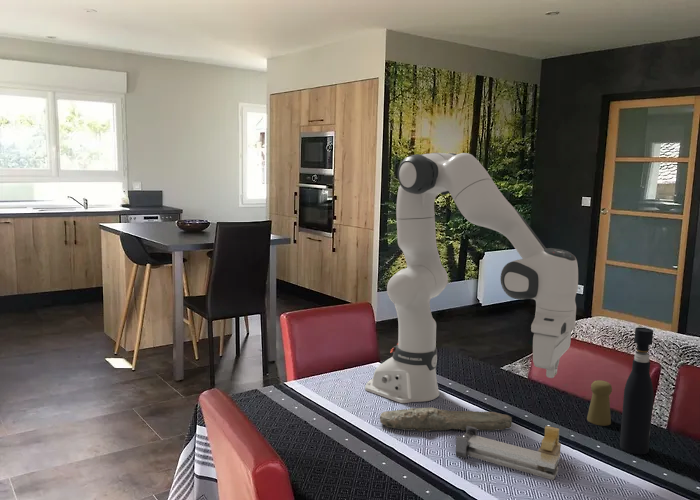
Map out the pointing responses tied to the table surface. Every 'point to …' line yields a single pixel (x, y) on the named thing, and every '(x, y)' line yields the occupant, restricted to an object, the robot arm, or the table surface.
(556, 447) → the tan wooden block
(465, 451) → the base
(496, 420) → the elongated rock
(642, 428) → the wine bottle
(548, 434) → the tan l-shaped block
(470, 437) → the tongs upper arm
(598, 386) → the cork
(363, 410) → the table surface
